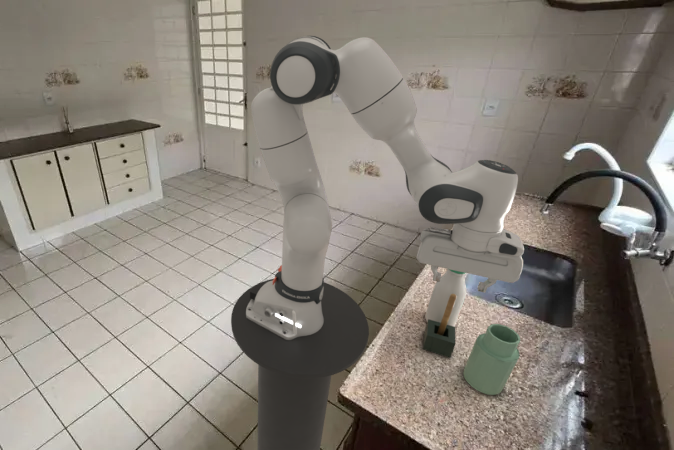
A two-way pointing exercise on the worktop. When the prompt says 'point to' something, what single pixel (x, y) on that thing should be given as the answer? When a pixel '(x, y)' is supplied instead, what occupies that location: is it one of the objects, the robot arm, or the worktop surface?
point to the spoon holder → (439, 339)
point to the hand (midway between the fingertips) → (458, 285)
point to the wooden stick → (447, 314)
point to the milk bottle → (447, 297)
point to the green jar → (492, 359)
